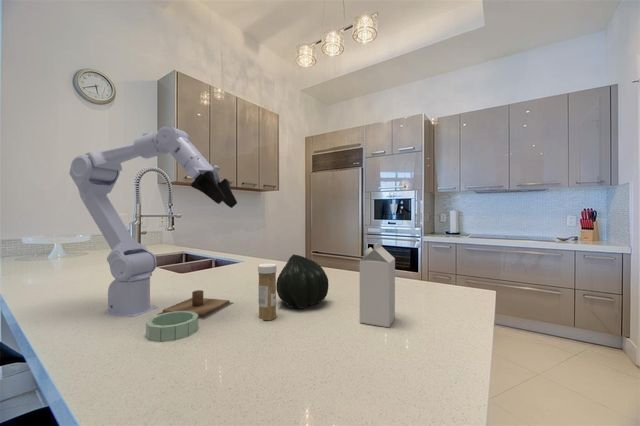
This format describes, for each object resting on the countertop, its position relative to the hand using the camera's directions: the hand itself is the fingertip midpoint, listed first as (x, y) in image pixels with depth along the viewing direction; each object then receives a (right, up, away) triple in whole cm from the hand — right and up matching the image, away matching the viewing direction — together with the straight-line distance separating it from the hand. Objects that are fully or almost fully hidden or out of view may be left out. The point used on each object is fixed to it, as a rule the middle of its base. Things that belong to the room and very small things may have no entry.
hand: (228, 203), depth 73 cm
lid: (-11, -28, +8) cm, 31 cm away
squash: (+18, -29, +13) cm, 36 cm away
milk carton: (+37, -29, -1) cm, 47 cm away
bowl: (-10, -29, -8) cm, 31 cm away
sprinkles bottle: (+9, -29, +1) cm, 31 cm away
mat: (-11, -29, +8) cm, 32 cm away
